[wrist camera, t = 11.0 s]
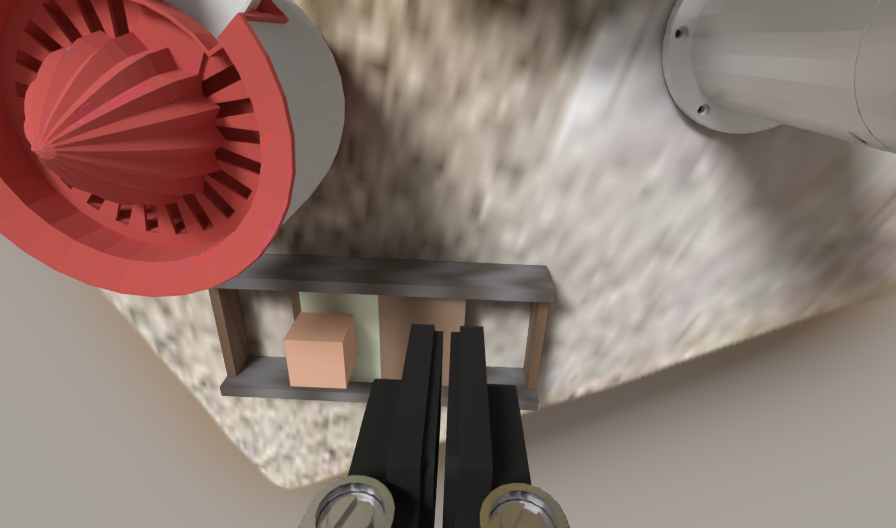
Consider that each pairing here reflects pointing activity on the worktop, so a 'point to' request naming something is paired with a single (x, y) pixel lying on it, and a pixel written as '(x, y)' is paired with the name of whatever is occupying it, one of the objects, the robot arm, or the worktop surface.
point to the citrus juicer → (160, 135)
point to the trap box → (377, 317)
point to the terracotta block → (321, 350)
